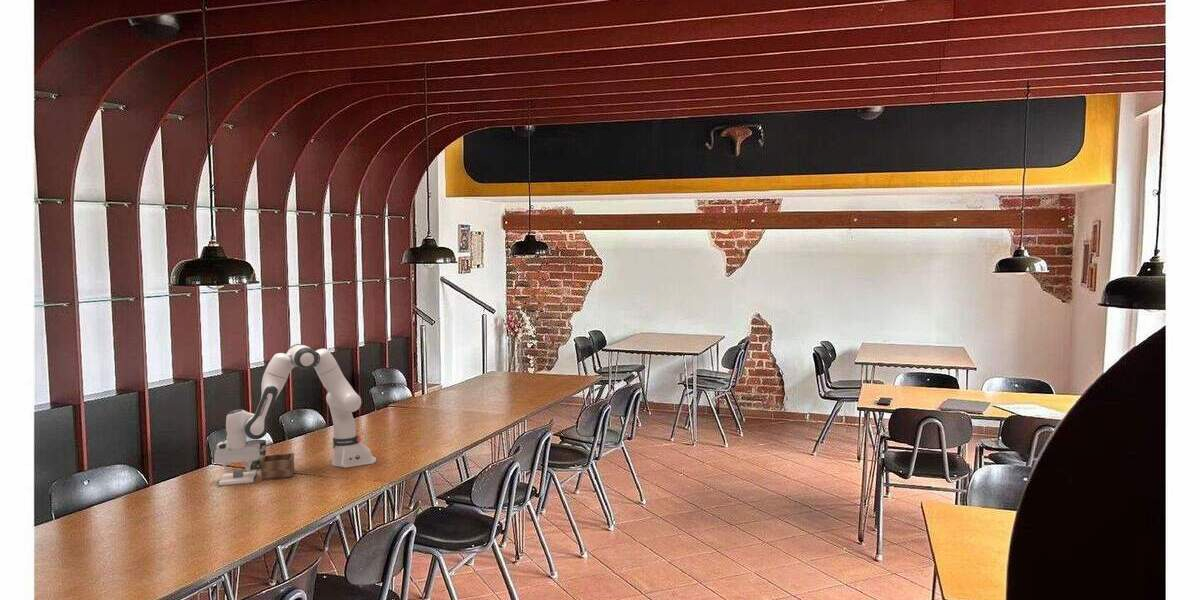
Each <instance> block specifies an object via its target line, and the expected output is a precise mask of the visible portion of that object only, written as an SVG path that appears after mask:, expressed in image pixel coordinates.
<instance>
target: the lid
mask: <svg viewBox="0 0 1200 600" xmlns="http://www.w3.org/2000/svg"><path fill="white" fill-rule="evenodd" d="M257 474H258V471H244V469H243V468H239V469H233V471H232V473H229V472H228V473H223V475H222V477H221V478H220V480H219V481H218V484H219V485H227V484H238V483H248V482H253V481H254V479H255V477H256V475H257ZM257 476H258V475H257ZM256 478H257V477H256Z"/></svg>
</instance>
